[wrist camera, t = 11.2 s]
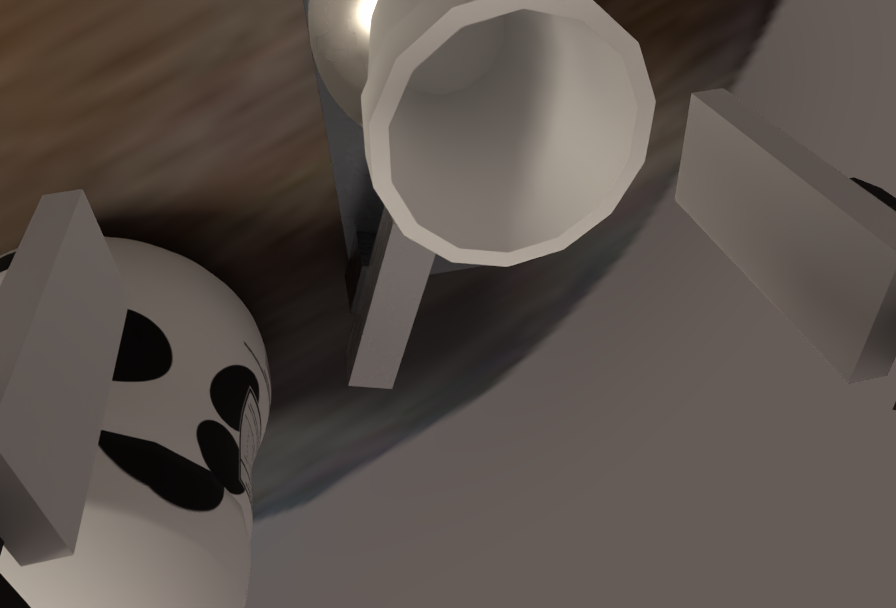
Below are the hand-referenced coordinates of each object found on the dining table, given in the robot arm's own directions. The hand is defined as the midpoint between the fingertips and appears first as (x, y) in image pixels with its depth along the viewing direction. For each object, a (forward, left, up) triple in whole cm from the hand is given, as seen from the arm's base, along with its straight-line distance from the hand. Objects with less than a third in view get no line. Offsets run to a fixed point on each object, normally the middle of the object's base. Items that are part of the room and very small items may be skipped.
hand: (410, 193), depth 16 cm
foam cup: (+2, +4, -20) cm, 20 cm away
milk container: (+18, -16, -22) cm, 32 cm away
